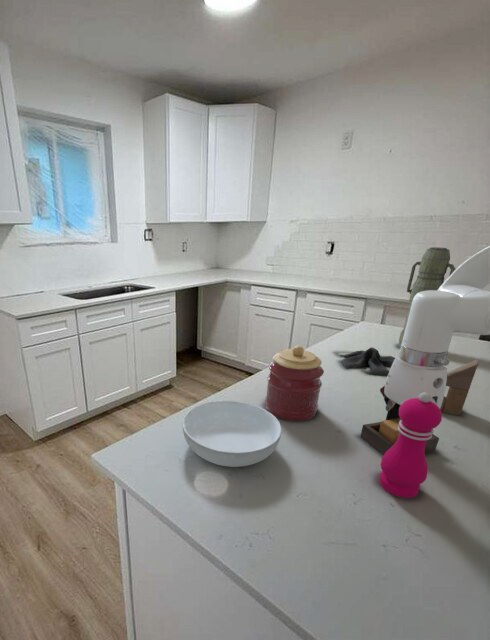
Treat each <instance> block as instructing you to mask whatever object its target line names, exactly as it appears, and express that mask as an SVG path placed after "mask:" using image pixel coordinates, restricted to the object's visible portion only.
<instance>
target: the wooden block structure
mask: <svg viewBox="0 0 490 640" xmlns="http://www.w3.org/2000/svg"><path fill="white" fill-rule="evenodd" d="M478 366H479V359H478V358H477V359H474V360H472V361H471V362H470V361H469V362H468V363H466V364H464V365H463V364H462V365H461V366H459V367H457V368H455V369H451V370H450V371H447V381H446V387H448V390H447V393H446V396H445V395H444V398H443V402H442V405H441V408H440V410H441V412H442V413H447V414H451V415H454V416H455V415H456V416H460V415H461V414H462V411H463V408H464V406H465V402H466V400H467V397H468V394H469V391H470V388H471V386H472V383H473V380H474V377H475V375H476V371H477V369H478Z"/></svg>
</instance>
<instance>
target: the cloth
mask: <svg viewBox="0 0 490 640" xmlns="http://www.w3.org/2000/svg"><path fill="white" fill-rule="evenodd" d="M339 357H340V358H343V359H341V360H340V363H341V364H342V366H343V368H344V369H345V370H349V369H357V368H359V369H360V368H363V370H364V371H363V372H364V373H365V374H366V375H377V376H378V375H379V376H388V374H389V371H390V369H389V370H388V369H387V368H391V366H392V364H393V362H394V360H395V358H396V356H395V357H394V356H392V355H385V356H381V354H380V352H379V350H378V349H376V347H375V348H374V347H369V348H368V349H366V350H363V349H362V350H356V351H353V352H350V353H345V354H339ZM367 368H370V370H366V369H367ZM365 370H366V371H365Z"/></svg>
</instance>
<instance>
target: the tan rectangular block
mask: <svg viewBox="0 0 490 640" xmlns="http://www.w3.org/2000/svg"><path fill="white" fill-rule="evenodd" d="M400 421H401V418H396V419H390V420H386V419H384V420H381V421H380V422H381V425H380V429H379V433H380V434H381V435H383V436H384V437H385V438H387V439H388V440H389V441H391V442H392V443H395V442H396V441H397V439H398V437H399V430H398V426H399V422H400Z"/></svg>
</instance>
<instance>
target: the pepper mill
mask: <svg viewBox="0 0 490 640" xmlns="http://www.w3.org/2000/svg"><path fill="white" fill-rule="evenodd" d="M431 398H432V397H431V395H430V394H429V393H427V392H422V393H420V394H419V398H412V399H408V400H406V401H405V402H404V403H403V404H402V405H401V407H400V409H399V417H400V418H401V421H400V422H399V426H398V430H399V437H398V439H397V441H396V442H395V444H394V445H393V446H392V447H391V448H390V449H389V450H388V451H387V452H386V453H385V454H384V455H382V458H381V460H380V469H381V472H380V474H379V478H378V483H379V485H380V487H381V488H382V489H384V491H386V492H387V493H389V494H391V495H394V496H395V497H396V496H397V497H400V498H403V499H411V498H415V497H417V496H418V493H419V491H420V487H421V484H423V483H424V482H425V481H426V480H427V478H428V472H429V469H428V468H429V467H428V462H427V457H426V455H425V454H426V453H425V445H426V442H427V440H429V439H431V438H432V434H433V435H434V432H435V431H434V429H436V428H437V427H438V426H439V425H440V424H441V422H442V417H443V412H442V411H441V410H440V408H439V407H438V406H437V405H436V404H435V403H433V402H432V401H430V400H431Z"/></svg>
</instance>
